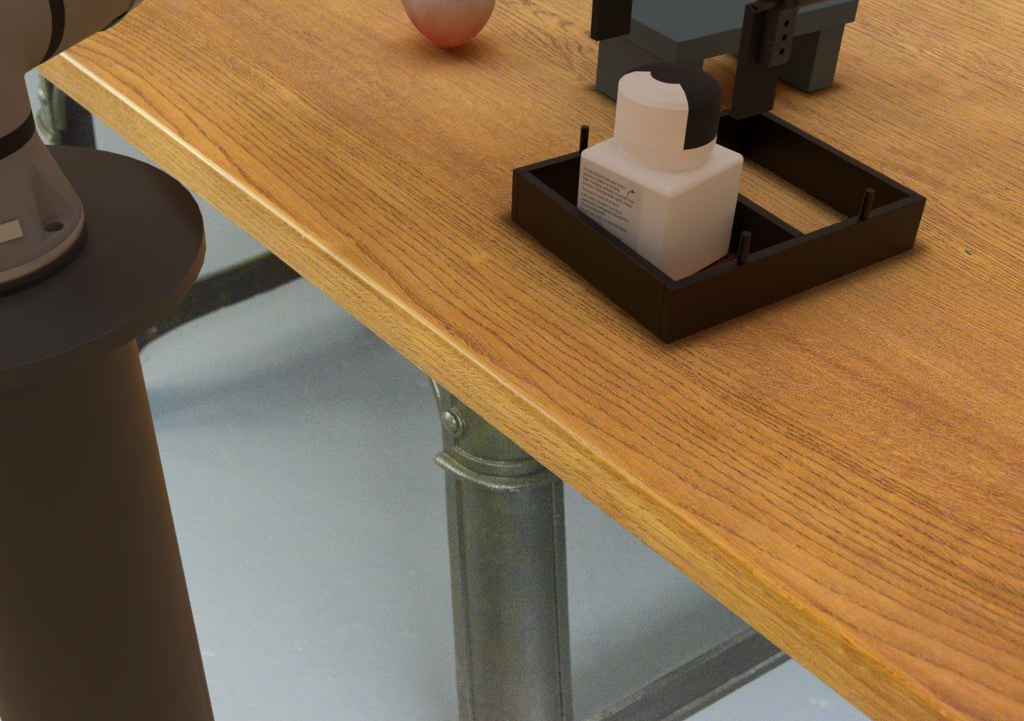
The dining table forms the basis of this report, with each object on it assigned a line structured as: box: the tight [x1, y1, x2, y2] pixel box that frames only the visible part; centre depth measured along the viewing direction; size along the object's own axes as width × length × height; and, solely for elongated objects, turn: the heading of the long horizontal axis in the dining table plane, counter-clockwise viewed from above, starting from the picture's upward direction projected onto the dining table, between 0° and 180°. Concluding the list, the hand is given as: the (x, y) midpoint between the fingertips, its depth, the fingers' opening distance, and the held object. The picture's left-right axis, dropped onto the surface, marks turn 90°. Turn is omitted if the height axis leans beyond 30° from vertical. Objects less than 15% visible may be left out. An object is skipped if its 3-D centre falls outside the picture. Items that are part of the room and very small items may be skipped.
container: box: [576, 62, 744, 281], centre depth 75 cm, size 8×8×13 cm
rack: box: [510, 108, 928, 345], centre depth 80 cm, size 18×22×6 cm
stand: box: [595, 0, 860, 102], centre depth 99 cm, size 11×20×8 cm, turn 123°
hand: (676, 72), depth 71 cm, fingers open, 13 cm apart
